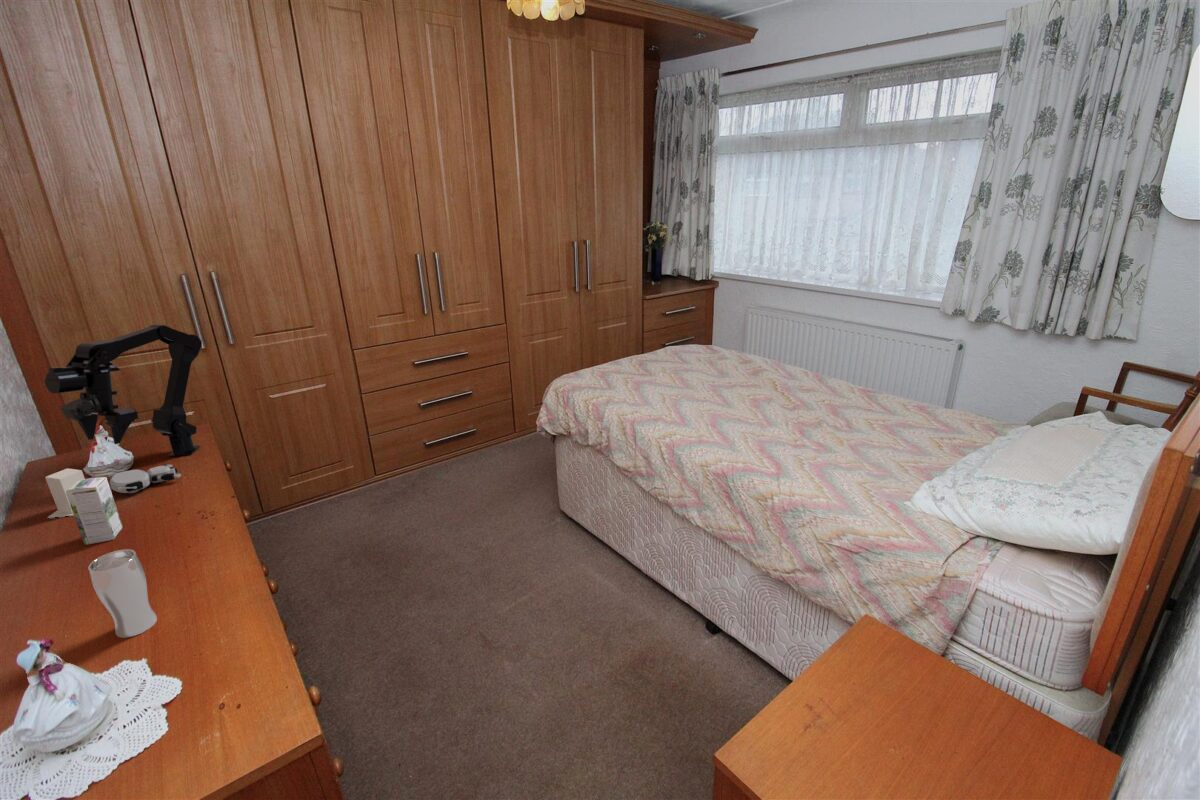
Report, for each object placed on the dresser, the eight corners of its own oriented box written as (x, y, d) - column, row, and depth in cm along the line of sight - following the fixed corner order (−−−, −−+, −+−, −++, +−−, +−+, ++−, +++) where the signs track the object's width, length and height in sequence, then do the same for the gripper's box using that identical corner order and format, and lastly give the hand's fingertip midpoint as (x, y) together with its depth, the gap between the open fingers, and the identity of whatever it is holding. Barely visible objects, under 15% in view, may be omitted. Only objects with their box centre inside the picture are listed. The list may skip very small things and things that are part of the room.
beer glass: (154, 608, 106) (131, 543, 101) (164, 624, 102) (141, 558, 97) (109, 628, 101) (82, 561, 96) (117, 646, 97) (90, 577, 92)
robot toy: (173, 472, 164) (108, 487, 153) (170, 458, 162) (104, 473, 151) (185, 485, 156) (117, 502, 145) (182, 470, 155) (113, 486, 144)
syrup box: (94, 533, 131) (74, 480, 126) (124, 527, 134) (106, 475, 129) (84, 545, 126) (63, 491, 122) (115, 539, 129) (96, 486, 124)
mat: (69, 502, 145) (69, 501, 145) (104, 499, 147) (103, 498, 146) (47, 518, 138) (47, 517, 137) (84, 514, 139) (83, 513, 139)
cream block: (79, 501, 145) (67, 468, 141) (94, 503, 144) (81, 470, 140) (58, 511, 140) (44, 477, 137) (73, 513, 139) (59, 479, 136)
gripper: (37, 388, 144) (44, 444, 147) (94, 396, 141) (99, 453, 144) (83, 382, 155) (89, 434, 158) (137, 390, 152) (142, 443, 155)
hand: (103, 441), depth 153 cm, fingers open, 9 cm apart
